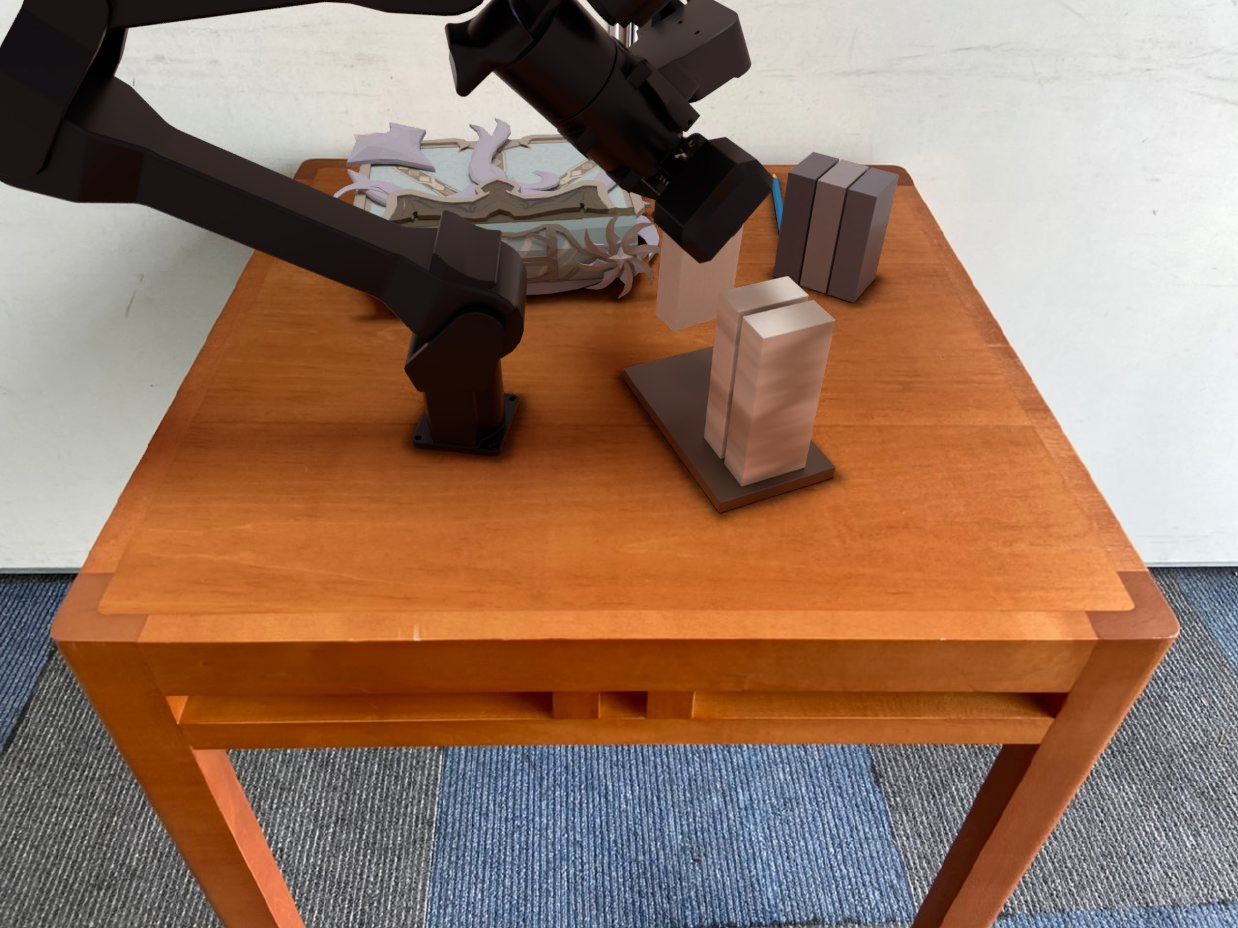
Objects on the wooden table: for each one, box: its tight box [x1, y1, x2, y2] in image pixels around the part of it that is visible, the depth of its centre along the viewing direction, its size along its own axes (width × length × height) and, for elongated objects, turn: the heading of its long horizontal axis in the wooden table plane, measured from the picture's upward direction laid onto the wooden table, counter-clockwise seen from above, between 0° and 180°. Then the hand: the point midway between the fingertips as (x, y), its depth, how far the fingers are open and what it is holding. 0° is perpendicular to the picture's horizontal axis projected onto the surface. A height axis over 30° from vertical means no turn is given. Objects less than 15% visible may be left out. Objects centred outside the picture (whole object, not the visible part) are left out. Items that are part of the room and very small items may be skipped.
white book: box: [655, 154, 745, 333], centre depth 62 cm, size 5×2×12 cm, turn 122°
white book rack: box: [622, 276, 837, 514], centre depth 62 cm, size 9×16×13 cm, turn 23°
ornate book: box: [333, 117, 661, 299], centre depth 83 cm, size 23×10×30 cm
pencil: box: [772, 173, 784, 233], centre depth 91 cm, size 1×17×1 cm, turn 177°
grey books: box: [772, 151, 900, 304], centre depth 79 cm, size 5×8×10 cm, turn 56°
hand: (725, 221), depth 62 cm, fingers closed on white book, 3 cm apart
